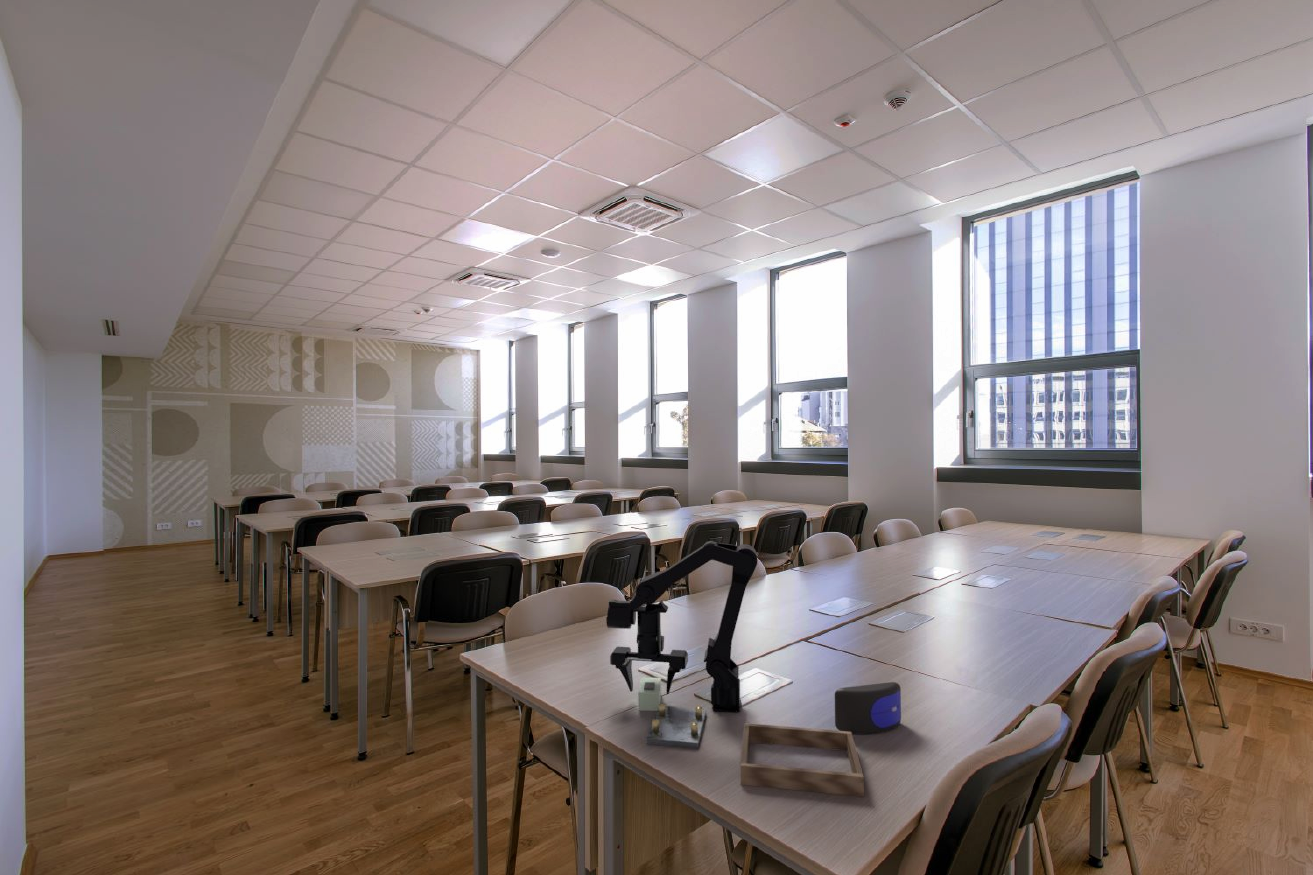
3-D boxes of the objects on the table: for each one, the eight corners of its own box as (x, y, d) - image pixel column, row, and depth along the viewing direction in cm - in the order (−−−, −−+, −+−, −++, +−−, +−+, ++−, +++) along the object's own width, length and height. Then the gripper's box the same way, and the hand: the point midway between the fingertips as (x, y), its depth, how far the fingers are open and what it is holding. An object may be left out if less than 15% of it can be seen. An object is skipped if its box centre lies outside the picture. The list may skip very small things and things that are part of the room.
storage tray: (851, 748, 123) (851, 731, 123) (863, 796, 106) (863, 776, 106) (744, 739, 127) (744, 723, 127) (740, 784, 110) (740, 765, 110)
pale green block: (661, 695, 150) (660, 675, 150) (659, 711, 141) (659, 690, 141) (641, 695, 150) (641, 675, 150) (638, 711, 141) (638, 689, 141)
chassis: (706, 714, 139) (706, 700, 139) (697, 748, 123) (697, 733, 123) (660, 710, 141) (660, 697, 141) (646, 743, 125) (646, 728, 125)
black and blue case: (844, 739, 127) (843, 695, 127) (833, 729, 131) (832, 686, 131) (910, 730, 130) (910, 687, 130) (897, 721, 135) (897, 679, 135)
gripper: (690, 621, 152) (691, 681, 152) (620, 617, 156) (621, 677, 155) (684, 634, 141) (685, 700, 141) (609, 631, 145) (609, 694, 144)
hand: (649, 692), depth 146 cm, fingers open, 9 cm apart
